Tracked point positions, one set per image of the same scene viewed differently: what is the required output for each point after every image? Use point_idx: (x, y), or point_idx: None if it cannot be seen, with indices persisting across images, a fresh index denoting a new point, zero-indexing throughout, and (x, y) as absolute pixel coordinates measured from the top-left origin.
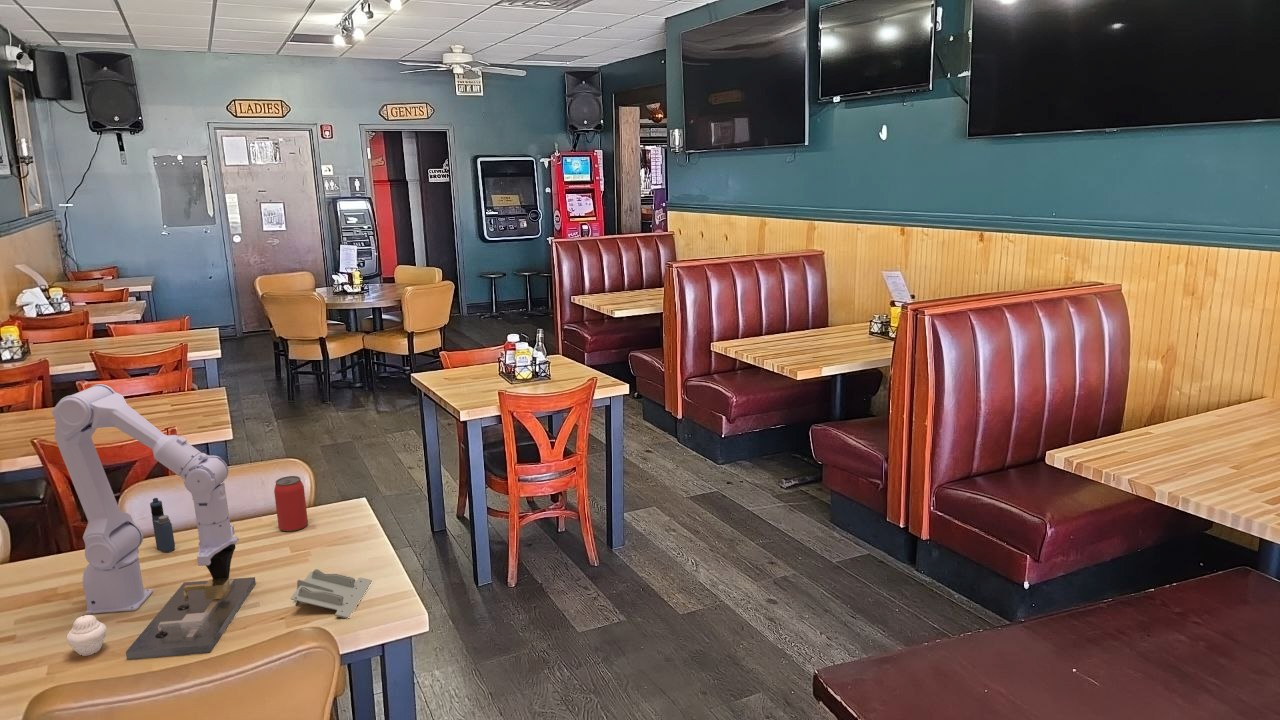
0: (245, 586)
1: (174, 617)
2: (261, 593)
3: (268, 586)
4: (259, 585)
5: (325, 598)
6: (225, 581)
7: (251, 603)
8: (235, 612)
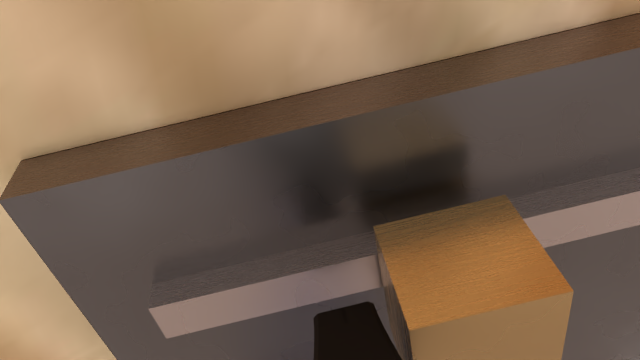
0: (191, 180)
1: (603, 327)
2: (171, 14)
3: (20, 21)
4: (34, 116)
5: None
6: (489, 314)
7: (363, 4)
8: (540, 44)
